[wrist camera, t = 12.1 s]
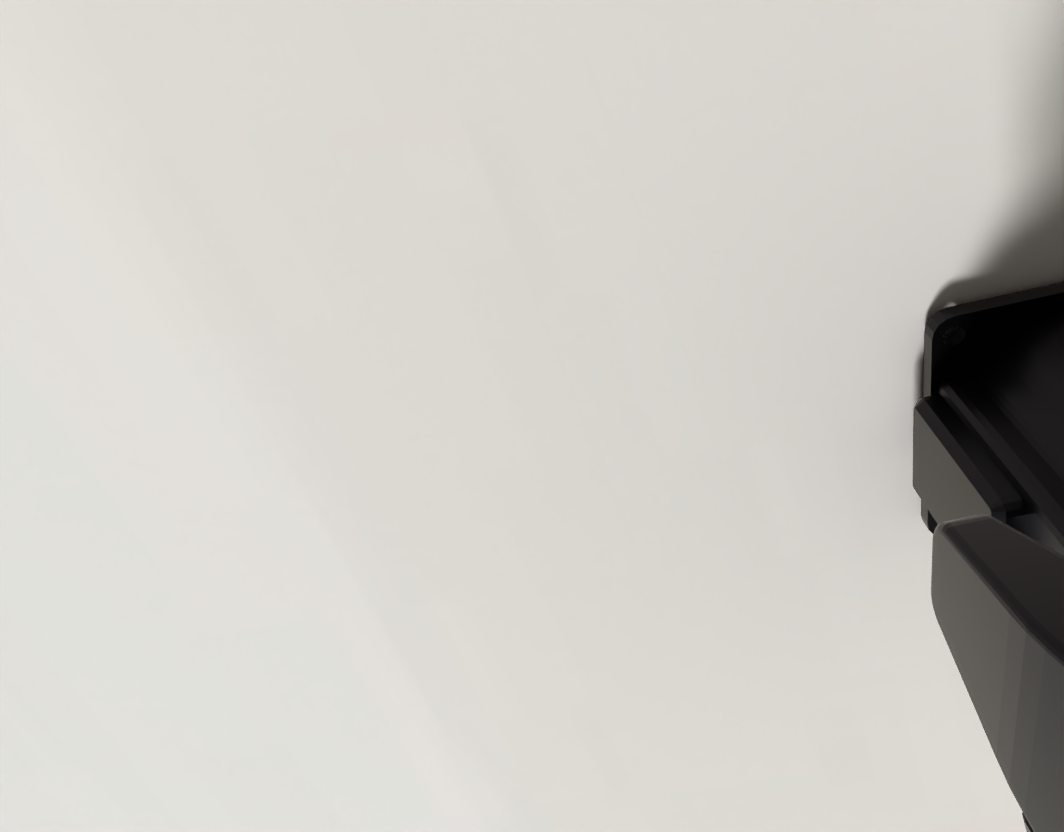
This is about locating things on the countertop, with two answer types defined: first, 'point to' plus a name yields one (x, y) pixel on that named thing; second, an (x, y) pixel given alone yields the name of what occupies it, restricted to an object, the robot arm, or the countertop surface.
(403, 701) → the countertop surface
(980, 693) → the robot arm
